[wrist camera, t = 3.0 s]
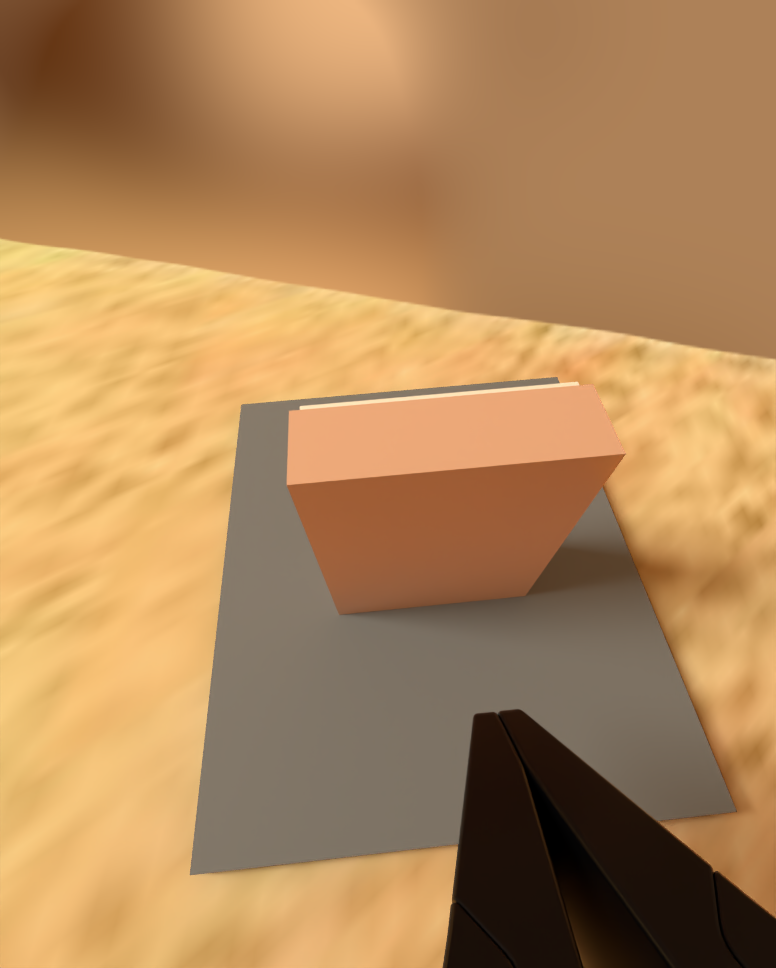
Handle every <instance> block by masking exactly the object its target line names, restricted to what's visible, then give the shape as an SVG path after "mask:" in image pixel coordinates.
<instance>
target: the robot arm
mask: <svg viewBox="0 0 776 968" xmlns="http://www.w3.org/2000/svg"><path fill="white" fill-rule="evenodd" d="M443 968H776V918H775V917H774V916H773V915H772V914H770V913H769V912H768V911H767V910H765V909H764V908H763V907H762V906H760V905H759V904H758V903H756V902H755V901H754V900H753V899H751V898H750V897H749V896H748V895H746V894H745V893H744V892H743V891H742V890H740V889H739V888H738V887H737V886H736V885H734V884H733V883H732V882H731V881H729V880H728V879H727V878H726V877H725V876H723V875H722V874H721V873H720V872H718V871H715V872H714V874H713V868H712V866H711V865H710V864H708V863H707V862H706V861H705V860H704V859H702V858H701V857H700V856H699V855H698V854H696V853H695V852H694V851H693V850H691V849H690V848H689V847H688V846H687V845H685V844H684V843H683V842H682V841H681V840H679V839H678V838H677V837H676V836H674V835H673V834H672V833H671V832H670V831H668V830H667V829H666V828H665V827H664V826H662V825H661V824H660V823H659V822H657V821H656V820H655V819H654V818H653V817H651V816H650V815H649V814H648V813H647V812H645V811H644V810H643V809H642V808H640V807H639V806H638V805H637V804H636V803H634V802H633V801H632V800H631V799H630V798H628V797H627V796H626V795H625V794H623V793H622V792H621V791H620V790H619V789H617V788H616V787H615V786H614V785H612V784H611V783H610V782H609V781H608V780H606V779H605V778H604V777H603V776H602V775H600V774H599V773H598V772H597V771H595V770H594V769H593V768H592V767H591V766H589V765H588V764H587V763H586V762H585V761H583V760H582V759H581V758H580V757H578V756H577V755H576V754H575V753H574V752H572V751H571V750H570V749H569V748H568V747H566V746H565V745H564V744H563V743H561V742H560V741H559V740H558V739H557V738H555V737H554V736H553V735H552V734H551V733H549V732H548V731H547V730H546V729H544V728H543V727H542V726H541V725H540V724H538V723H537V722H536V721H535V720H534V719H532V718H531V717H530V716H529V715H527V714H526V713H525V712H524V711H522V710H520V709H512V710H503V711H500V712H498V714H497V713H495V712H485V713H476V714H475V715H474V716H473V722H472V731H471V740H470V748H469V757H468V765H467V774H466V783H465V791H464V800H463V809H462V817H461V826H460V834H459V843H458V852H457V860H456V869H455V877H454V886H453V895H452V905H451V909H450V918H449V926H448V935H447V942H446V949H445V956H444V962H443Z"/></svg>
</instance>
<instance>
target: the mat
mask: <svg viewBox="0 0 776 968" xmlns="http://www.w3.org/2000/svg"><path fill="white" fill-rule="evenodd" d="M558 383H559V381H558V378H557V377H553V378H541V379H530V380H518V381H507V382H496V383H484V384H473V385H461V386H450V387H438V388H427V389H415V390H404V391H392V392H381V393H370V394H358V395H347V396H335V397H324V398H312V399H301V400H289V401H278V402H266V403H255V404H243V405H241V413H240V422H239V431H238V440H237V449H236V458H235V468H234V477H233V486H232V495H231V504H230V513H229V522H228V532H227V541H226V550H225V559H224V568H223V577H222V586H221V595H220V605H219V614H218V623H217V632H216V641H215V650H214V659H213V668H212V678H211V687H210V696H209V705H208V714H207V723H206V732H205V741H204V751H203V760H202V769H201V778H200V787H199V796H198V805H197V815H196V824H195V833H194V842H193V851H192V860H191V869H190V875H196V874H205V873H214V872H222V871H231V870H240V869H248V868H257V867H265V866H274V865H283V864H291V863H300V862H308V861H317V860H326V859H334V858H343V857H352V856H360V855H369V854H377V853H386V852H395V851H403V850H412V849H420V848H429V847H438V846H446V845H455V844H458V843H459V834H460V826H461V817H462V809H463V800H464V791H465V783H466V774H467V765H468V757H469V748H470V740H471V731H472V722H473V716H474V715H475V714H476V713H485V712H495V713H497V714H498V712H500V711H503V710H512V709H520V710H522V711H524V712H525V713H526V714H527V715H529V716H530V717H531V718H532V719H534V720H535V721H536V722H537V723H538V724H540V725H541V726H542V727H543V728H544V729H546V730H547V731H548V732H549V733H551V734H552V735H553V736H554V737H555V738H557V739H558V740H559V741H560V742H561V743H563V744H564V745H565V746H566V747H568V748H569V749H570V750H571V751H572V752H574V753H575V754H576V755H577V756H578V757H580V758H581V759H582V760H583V761H585V762H586V763H587V764H588V765H589V766H591V767H592V768H593V769H594V770H595V771H597V772H598V773H599V774H600V775H602V776H603V777H604V778H605V779H606V780H608V781H609V782H610V783H611V784H612V785H614V786H615V787H616V788H617V789H619V790H620V791H621V792H622V793H623V794H625V795H626V796H627V797H628V798H630V799H631V800H632V801H633V802H634V803H636V804H637V805H638V806H639V807H640V808H642V809H643V810H644V811H645V812H647V813H648V814H649V815H650V816H651V817H653V818H654V819H655V820H656V821H662V820H670V819H679V818H688V817H696V816H705V815H713V814H722V813H731V812H737V811H736V808H735V806H734V803H733V801H732V798H731V796H730V794H729V791H728V789H727V786H726V784H725V782H724V779H723V777H722V774H721V772H720V769H719V767H718V765H717V762H716V760H715V757H714V755H713V753H712V750H711V748H710V745H709V743H708V740H707V738H706V736H705V733H704V731H703V728H702V726H701V724H700V721H699V719H698V716H697V714H696V712H695V709H694V707H693V704H692V702H691V699H690V697H689V695H688V692H687V690H686V687H685V685H684V683H683V680H682V678H681V675H680V673H679V670H678V668H677V666H676V663H675V661H674V658H673V656H672V654H671V651H670V649H669V646H668V644H667V641H666V639H665V637H664V634H663V632H662V629H661V627H660V625H659V622H658V620H657V617H656V615H655V612H654V610H653V608H652V605H651V603H650V600H649V598H648V596H647V593H646V591H645V588H644V586H643V583H642V581H641V579H640V576H639V574H638V571H637V569H636V567H635V564H634V562H633V559H632V557H631V554H630V552H629V550H628V547H627V545H626V542H625V540H624V538H623V535H622V533H621V530H620V528H619V526H618V523H617V521H616V518H615V516H614V513H613V511H612V509H611V506H610V504H609V501H608V499H607V497H606V494H605V492H604V489H603V487H602V488H601V490H600V491H599V492H598V494H597V495H596V497H595V498H594V499H593V501H592V502H591V504H590V505H589V507H588V508H587V509H586V511H585V512H584V514H583V515H582V516H581V518H580V519H579V521H578V522H577V524H576V525H575V526H574V528H573V529H572V531H571V532H570V533H569V535H568V536H567V538H566V539H565V540H564V542H563V543H562V545H561V546H560V548H559V549H558V550H557V552H556V553H555V555H554V556H553V557H552V559H551V560H550V562H549V563H548V565H547V566H546V567H545V569H544V570H543V572H542V573H541V574H540V576H539V577H538V579H537V580H536V582H535V583H534V584H533V586H532V587H531V589H530V590H529V591H528V593H527V594H526V596H520V597H510V598H500V599H491V600H481V601H471V602H461V603H451V604H441V605H431V606H421V607H411V608H401V609H391V610H382V611H372V612H362V613H352V614H342V615H339V613H338V611H337V609H336V606H335V604H334V601H333V599H332V596H331V594H330V591H329V589H328V586H327V584H326V581H325V579H324V576H323V574H322V571H321V569H320V567H319V564H318V562H317V559H316V557H315V554H314V552H313V549H312V547H311V544H310V542H309V539H308V537H307V534H306V532H305V529H304V527H303V524H302V522H301V520H300V517H299V515H298V512H297V510H296V507H295V505H294V502H293V500H292V497H291V495H290V492H289V490H288V487H287V457H288V427H289V411H292V410H300V406H307V405H319V404H330V403H341V402H353V401H364V400H376V399H387V398H398V397H410V396H421V395H433V394H444V393H455V392H467V391H478V390H490V389H501V388H513V387H524V386H535V385H547V384H558Z"/></svg>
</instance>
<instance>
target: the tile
mask: <svg viewBox="0 0 776 968" xmlns="http://www.w3.org/2000/svg"><path fill="white" fill-rule="evenodd" d="M625 454H626V453H625V451H624V449H623V447H622V444H621V442H620V440H619V438H618V436H617V434H616V432H615V430H614V427H613V425H612V423H611V421H610V419H609V417H608V415H607V412H606V410H605V408H604V406H603V404H602V402H601V400H600V398H599V395H598V393H597V391H596V389H595V387H594V385H593V384H588V385H579V384H578V382H570V383H558V384H547V385H535V386H524V387H513V388H501V389H490V390H478V391H467V392H455V393H444V394H433V395H421V396H410V397H398V398H387V399H376V400H364V401H353V402H341V403H330V404H319V405H307V406H300V410H292V411H289V427H288V457H287V487H288V490H289V492H290V495H291V497H292V500H293V502H294V505H295V507H296V510H297V512H298V515H299V517H300V520H301V522H302V524H303V527H304V529H305V532H306V534H307V537H308V539H309V542H310V544H311V547H312V549H313V552H314V554H315V557H316V559H317V562H318V564H319V567H320V569H321V571H322V574H323V576H324V579H325V581H326V584H327V586H328V589H329V591H330V594H331V596H332V599H333V601H334V604H335V606H336V609H337V611H338V613H339V615H342V614H352V613H362V612H372V611H382V610H391V609H401V608H411V607H421V606H431V605H441V604H451V603H461V602H471V601H481V600H491V599H500V598H510V597H520V596H526V594H527V593H528V591H529V590H530V589H531V587H532V586H533V584H534V583H535V582H536V580H537V579H538V577H539V576H540V574H541V573H542V572H543V570H544V569H545V567H546V566H547V565H548V563H549V562H550V560H551V559H552V557H553V556H554V555H555V553H556V552H557V550H558V549H559V548H560V546H561V545H562V543H563V542H564V540H565V539H566V538H567V536H568V535H569V533H570V532H571V531H572V529H573V528H574V526H575V525H576V524H577V522H578V521H579V519H580V518H581V516H582V515H583V514H584V512H585V511H586V509H587V508H588V507H589V505H590V504H591V502H592V501H593V499H594V498H595V497H596V495H597V494H598V492H599V491H600V490H601V488H602V487H603V485H604V484H605V482H606V481H607V480H608V478H609V477H610V475H611V474H612V473H613V471H614V470H615V468H616V467H617V465H618V464H619V463H620V461H621V460H622V458H623V457H624V456H625Z"/></svg>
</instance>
